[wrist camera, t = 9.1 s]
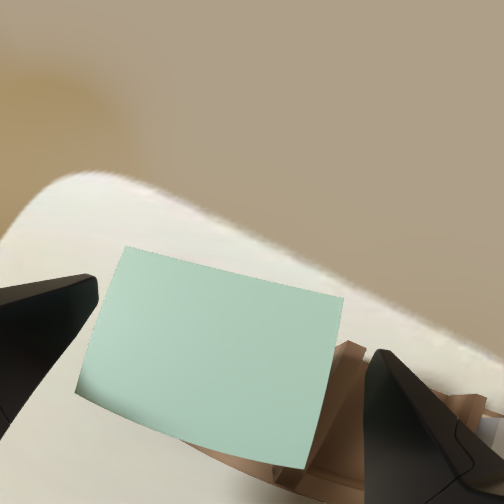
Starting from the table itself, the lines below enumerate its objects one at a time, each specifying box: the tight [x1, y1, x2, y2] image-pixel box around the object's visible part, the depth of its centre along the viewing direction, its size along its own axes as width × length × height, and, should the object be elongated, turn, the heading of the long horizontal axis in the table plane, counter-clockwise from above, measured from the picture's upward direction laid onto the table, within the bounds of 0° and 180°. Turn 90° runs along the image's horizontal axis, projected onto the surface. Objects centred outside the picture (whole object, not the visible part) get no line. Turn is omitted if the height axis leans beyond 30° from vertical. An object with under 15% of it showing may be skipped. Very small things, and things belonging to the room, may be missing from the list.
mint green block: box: [75, 246, 344, 469], centre depth 11 cm, size 6×4×10 cm
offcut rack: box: [179, 340, 504, 504], centre depth 13 cm, size 30×8×4 cm, turn 63°
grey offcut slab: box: [475, 418, 504, 459], centre depth 9 cm, size 5×5×2 cm
